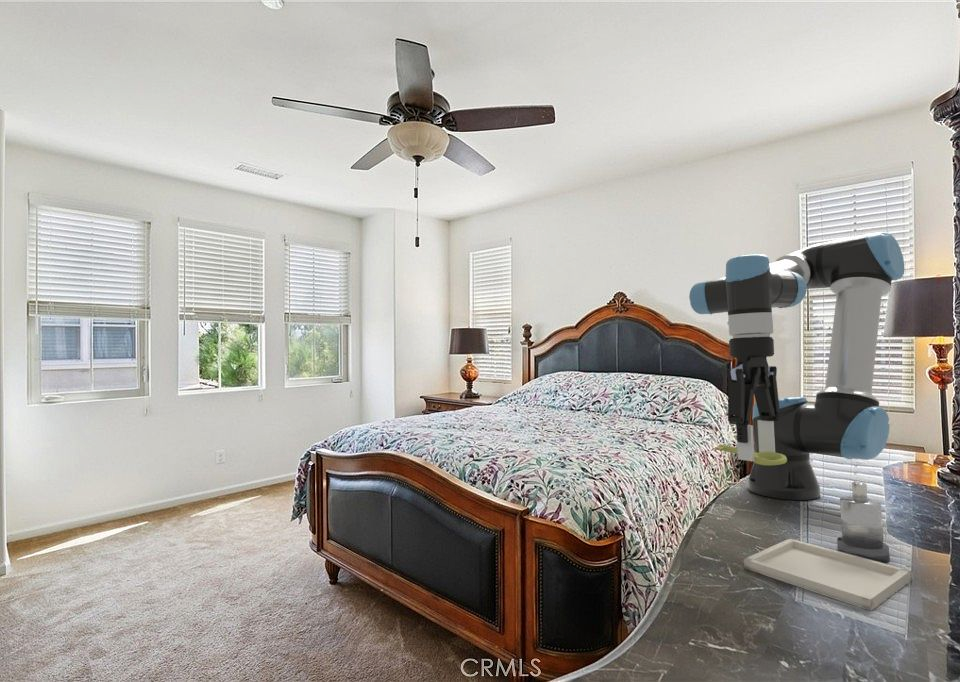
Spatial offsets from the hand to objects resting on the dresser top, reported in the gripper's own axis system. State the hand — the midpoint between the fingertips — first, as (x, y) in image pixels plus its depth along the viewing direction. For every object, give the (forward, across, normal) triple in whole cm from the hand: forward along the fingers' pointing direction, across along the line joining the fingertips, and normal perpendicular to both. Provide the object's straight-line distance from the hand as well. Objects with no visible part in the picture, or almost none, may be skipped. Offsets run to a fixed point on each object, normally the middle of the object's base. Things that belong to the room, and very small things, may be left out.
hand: (756, 457), depth 95 cm
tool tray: (+15, +9, +14) cm, 23 cm away
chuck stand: (+15, -4, +15) cm, 21 cm away
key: (+1, 0, -1) cm, 1 cm away
